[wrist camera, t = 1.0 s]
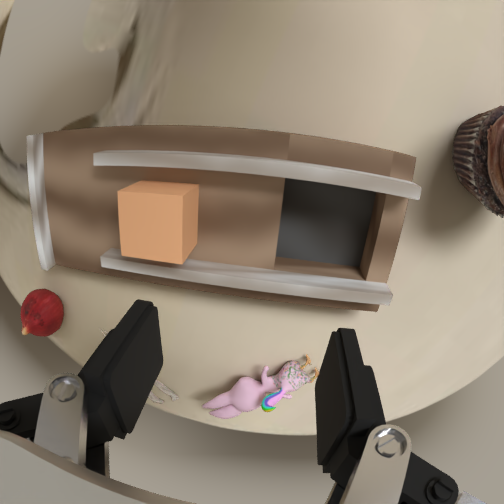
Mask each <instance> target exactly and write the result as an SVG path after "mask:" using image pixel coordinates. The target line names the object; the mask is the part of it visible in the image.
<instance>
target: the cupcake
mask: <svg viewBox="0 0 504 504" xmlns="http://www.w3.org/2000/svg"><path fill="white" fill-rule="evenodd" d="M453 163H454V169H455V171H456V173H457V176H458V179H459V181H460V182H461V184H462V185H463V186H464V187H465V188H466V189H467V190H468V191H469V192H470V193H472V194H473V195H474V196H475V197H476V198H477V199H478V200H479V201H480V202H481V203H482V204H483V205H484V206H485V207H486V209H487V210H490V211H491V212H492V213H495V214H496V215H497V216H498V215H499V216H500V217H501V218H503V217H504V106H499V107H498V108H494V109H492V110H490V111H487V112H485V113H481V114H478V115H475V116H474V117H472V118H470V119H468V120H467V121H465V122H464V123H462V124H461V126H460V127H459V129H458V131H457V134H456V136H455V138H454V142H453Z"/></svg>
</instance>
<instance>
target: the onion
mask: <svg viewBox="0 0 504 504" xmlns="http://www.w3.org/2000/svg"><path fill="white" fill-rule="evenodd" d="M63 316H64V311H63V305H62V302H61V300H60V298H59V297H58V296H57V295H56V294H55V293H54V292H51V291H49V290H47V289H37V290H34V291H32V292H30V293H29V294H28V295H27V297H26V298H25V300H24V302H23V304H22V307H21V320H22V324H23V328H22V334H23V335H26V334H29V333H31V334H33V335H36V336H49V335H51V334H53V333H55V332H56V331H57V330H58V329H59V328H60V326H61V324H62V321H63Z"/></svg>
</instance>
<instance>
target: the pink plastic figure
mask: <svg viewBox="0 0 504 504" xmlns="http://www.w3.org/2000/svg"><path fill="white" fill-rule="evenodd" d="M306 358H307V361H306V363H305V364H304V365H300V364H299V363H298V362H297V361H289V362H287V363H286V364H285V365H284V366H283V367H282V369H281V370H280V371H279V373H278V374H277V375H273V376H270V377H267V374H266V373H267V371H268V369H269V367H268V366H265V367H264V368H263V371H262V374H261V380H262V384H261V382H260V381H256V380H255V379H253V378H251V377H248V376H246V377H242V378H240V379H239V380H238V381H237V383H236V384H235V385H234V386H233V387H232V389H231V390H229V391H227V392H225V393H222V394H220V395H218V396H216V397H215V398H213V399H212V400H210V401H208V402H207V403H205V404H203V405H202V407H203V408H211V409H215V408H220V407H222V408H220V409H217V410H214V411H211V412H209V414H211V415H213V416H215V417H218V418H222V419H228V418H232V417H235V416H238V415H239V414H241V412H248V411H252V410H254V409H257V408H258V407H260V406H262V409H263V410H264V411H265V412H270V411H272V410H274V409H275V408H276V407H272V406H274V405H275V404H276V403H277V402H278V401H279V400H280V399H281V398H282V397H283V398H287V399H291V398H292V396H291V395H290V394H285V393H286V392H291V391H295V390H297V389H299V388H300V387H301V386H302V385H304V384H306V383H311V382H313V381H314V379H315V378H316V377H318V375H319V371H318V370H317V368H316V367H315V371H316V373H315V376H314V377H312V378H310V377H309V376H308V375H307V374H306V372H304V371H302V369H304V367H305V366H306V365H307V364H308V363H309V364H310V363H311V361H310V360H311V359H310V358H309V357H308V354H307V355H306ZM310 365H312V364H310ZM278 389H280V391H279V390H278ZM266 392H270V393H272V394H269V395H267V396H266V394H265V393H266Z"/></svg>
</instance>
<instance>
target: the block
mask: <svg viewBox="0 0 504 504" xmlns="http://www.w3.org/2000/svg"><path fill="white" fill-rule="evenodd" d="M117 192H118V215H119V231H120V244H121V255H122V256H127V257H134V258H141V259H147V260H154V261H161V262H168V263H175V264H183V263H184V262H185V260H186V259H187V257H188V256H189V254H190V253H191V252H192V250H193V249H194V247H195V246H196V245H197V232H198V200H199V184H191V183H178V182H163V181H146V180H141V181H139V182H136V183H134V184H132V185H130V186H128V187H125V188H123V189H121V190H119V191H117Z"/></svg>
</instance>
